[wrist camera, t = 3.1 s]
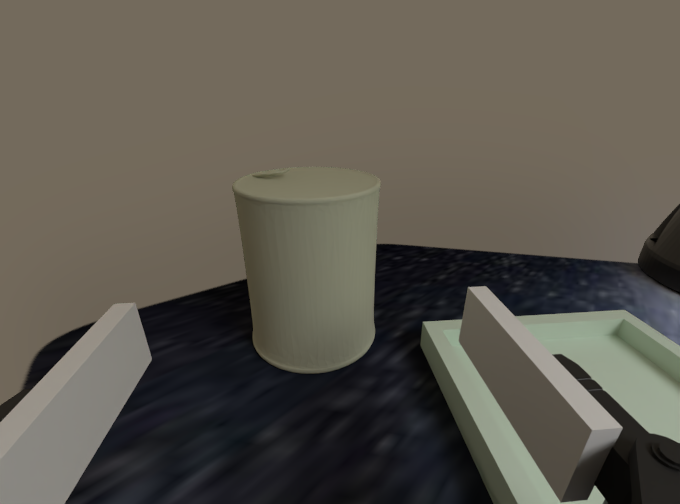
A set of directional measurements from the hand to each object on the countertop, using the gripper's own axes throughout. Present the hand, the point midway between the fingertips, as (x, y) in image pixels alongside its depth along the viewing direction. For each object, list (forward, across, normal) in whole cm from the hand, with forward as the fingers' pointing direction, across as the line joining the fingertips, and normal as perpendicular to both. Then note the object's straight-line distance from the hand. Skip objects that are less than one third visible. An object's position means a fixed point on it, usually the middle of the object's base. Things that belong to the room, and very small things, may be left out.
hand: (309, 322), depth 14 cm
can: (+10, 0, -8) cm, 13 cm away
